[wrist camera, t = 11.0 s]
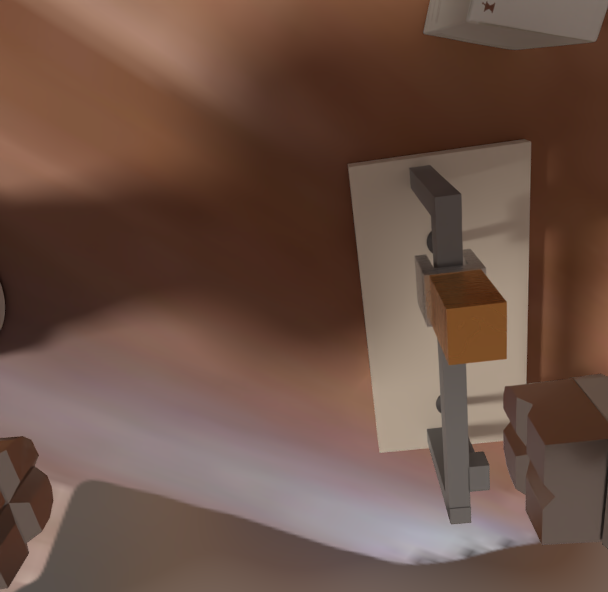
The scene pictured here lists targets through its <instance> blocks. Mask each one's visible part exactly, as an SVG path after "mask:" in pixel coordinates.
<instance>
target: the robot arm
mask: <svg viewBox="0 0 608 592" xmlns="http://www.w3.org/2000/svg"><path fill="white" fill-rule="evenodd" d="M4 316H5V299H4V294H3V290H2V286H1V283H0V330H1V328H2V325H3V322H4ZM503 409H504V411H505V413H506V415H507V417H508V418H509V420H510V423H509V424H508V425H507V426H506V428H505V429H504V430H503V441H504V452H505V458H506V464H507V467H508V471H509V474H510V477H511V479H512V481H513V484H514V486H515V488H516V489H517V490H518V491H520V492H521V493H523V494H525V495H526V512H527V514H528V516H529V519H530V521H531V523H532V525H533V527H534V529H535V531H536V533H537V536H538V538H539V540H540V542H541V544H542V545H546V544H565V543H584V542H602V545H604V546H605V547H606V548H607V549H608V377H607V376H605V375H603V374H594V375H587V376H580V377H573V378H568V379H562V380H553V381H545V382H537V383H529V384H521V385H512V386H505V389H504V394H503ZM38 456H39V455H38V453H37V451H36V449H35V446H34V444H33V442H32V440H30V439H28V438H26V437H23V436H20V437H8V438H0V589H4V588H8V587H9V586H10V584H11V582H12V581H13V579H14V577H15V576H16V574H17V572H18V571H19V569H20V567H21V566H22V564H23V562H24V561H25V559H26V557H27V556H28V554H29V551H28V546H27V542H29V541H30V540H31V539H33V538H34V537H35V536H37V535H38V534H39V533H40V532H42V530H43V529H44V527H45V525H46V523H47V522H48V520H49V518H50V514H51V509H52V504H53V494H52V487H51V484H50V482H49V479H48V477H47V475H46V474H44V473H43V472H42V471H40V470H39V469H38V468H36V467H35V464H36V461H37V459H38Z"/></svg>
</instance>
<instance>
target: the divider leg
mask: <svg viewBox="0 0 608 592" xmlns="http://www.w3.org/2000/svg"><path fill="white" fill-rule="evenodd" d="M414 257H415V272H416V287H417V302H418V305H419V308H420V310H421V313H422V315H423V318H424V320H425V323H426V325H427V327H433V329H434V332H435V334H436V336H437V339H438V341H439V343H440V346H441V348H442V350H443V353H444V355H445V358H446V360H447V362H448V365H456V364H466V363H475V362H484V361H493V360H503V359H507V302H506V300H505V299H504V298H503V296H502V295H501V294H500V293H499V291H498V290H497V289H496V288H495V286H494V285H493V284H492V282H491V281H490V280H489V279H488V277H487V276H486V267H485V266H484V265H483V263H482V262H481V261H480V260H479V259H478V257H477V256H476V255H475V254H474V252H473V251H472V250H471V249H464V250H463V265H458V266H450V267H442V268H434V267H433V266H432V264H431V262H430V260H429V258H428V257H427V255H426V254H424V255H416V256H414Z"/></svg>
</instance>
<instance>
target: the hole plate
mask: <svg viewBox="0 0 608 592" xmlns="http://www.w3.org/2000/svg"><path fill="white" fill-rule="evenodd" d="M348 173H349V182H350V191H351V200H352V209H353V218H354V227H355V236H356V245H357V255H358V264H359V273H360V282H361V291H362V300H363V309H364V318H365V327H366V336H367V345H368V355H369V364H370V373H371V382H372V391H373V400H374V409H375V418H376V427H377V436H378V445H379V451H380V453H383V452H393V451H403V450H414V449H424V448H429V449H430V453H431V456H432V460H433V463H434V467H435V470H436V474H437V477H438V481H439V484H440V488H441V491H442V495H443V498H444V502H445V505H446V509H447V513H448V516H449V520H450V523H451V524H461V523H471V507H470V492H472V491H483V490H490V480H489V463H488V461H487V459H486V456H485V454H484V452H474V449H473V447H472V444H476V443H486V442H496V441H503V430H504V429H505V428H506V426H507V425H508V424H509V423H510V420H509V418H508V417H507V415H506V413H505V411H504V409H503V394H504V389H505V386H512V385H521V384H526V378H527V329H528V279H529V229H530V179H531V141H528V140H525V139H522V140H515V141H507V142H500V143H493V144H486V145H479V146H472V147H465V148H457V149H450V150H443V151H436V152H429V153H422V154H414V155H407V156H400V157H393V158H386V159H379V160H372V161H364V162H357V163H350V164H348ZM464 249H471V250H472V251H473V252H474V254H475V255H476V256H477V257H478V259H479V260H480V261H481V262H482V263H483V265H484V266H485V267H486V276H487V277H488V279H489V280H490V281H491V282H492V284H493V285H494V286H495V288H496V289H497V290H498V291H499V293H500V294H501V295H502V296H503V298H504V299H505V300H506V302H507V359H503V360H493V361H484V362H475V363H466V364H456V365H448V362H447V360H446V358H445V355H444V353H443V350H442V348H441V346H440V343H439V341H438V339H437V336H436V334H435V332H434V329H433V327H427V325H426V323H425V320H424V318H423V315H422V313H421V310H420V308H419V305H418V302H417V287H416V272H415V257H414V256H416V255H424V254H426V255H427V257H428V258H429V260H430V262H431V264H432V266H433V267H434V268H442V267H450V266H458V265H463V250H464Z"/></svg>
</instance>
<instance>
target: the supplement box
mask: <svg viewBox="0 0 608 592" xmlns="http://www.w3.org/2000/svg"><path fill="white" fill-rule="evenodd" d="M607 8H608V0H430V3H429V8H428V12H427V17H426V22H425V26H424V31H423V33H424V34H427V35H432V36H438V37H443V38H448V39H454V40H459V41H464V42H469V43H474V44H480V45H486V46H492V47H498V48H504V49H510V50H521V49H531V48H541V47H552V46H563V45H572V44H581V43H591V42H595V41H596V40H597V38H598V35H599V32H600V29H601V26H602V23H603V20H604V17H605V14H606V11H607Z"/></svg>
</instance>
